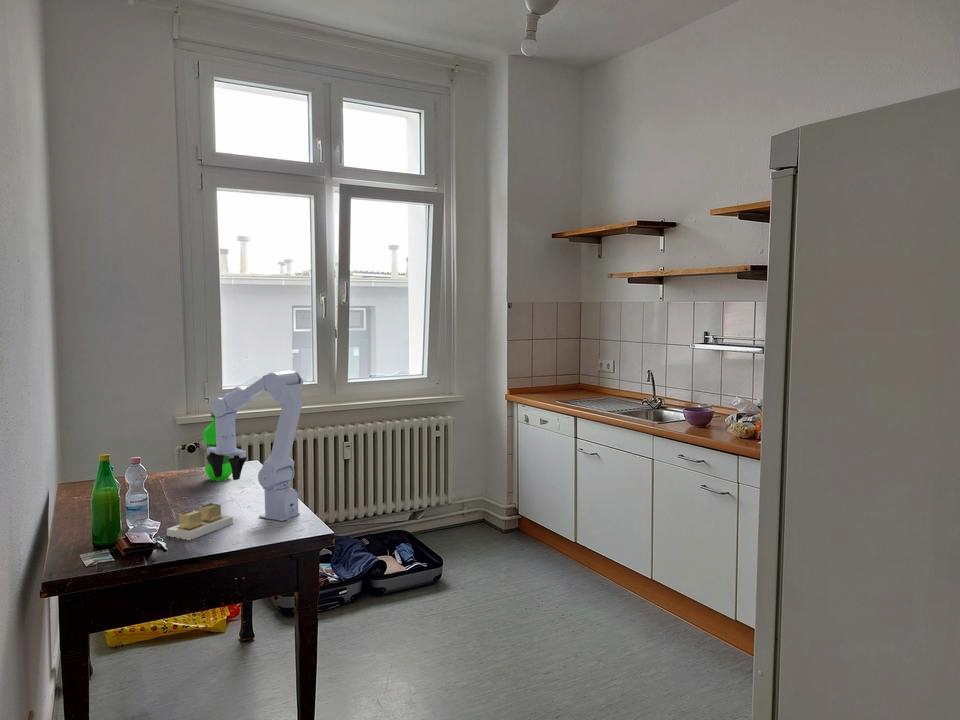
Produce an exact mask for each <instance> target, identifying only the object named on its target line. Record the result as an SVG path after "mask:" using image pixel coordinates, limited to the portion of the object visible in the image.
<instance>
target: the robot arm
mask: <svg viewBox="0 0 960 720" xmlns="http://www.w3.org/2000/svg"><path fill="white" fill-rule="evenodd" d="M303 385H304V380H303V378H302V377H301V375H300V374H299V372H298V371H297V370H294V369H290V370H285V371H278V372H275V371H274V372H269V373H267V374H265V375H262V377H260V378H259V379H258V380H256V381H255V382H253V383H252V384H250V385H248V386H235V387H233V389H234V390H233V391H230V392H227V393H225V394H223V396H222V397H215V398H214V399H213V400H212V401H211V402H210V413H211V412H212V413H213V415H214V416H215V423H216V447H209V448H207V447H206V461H207V460H208V461H209V463H210V464H211V467H212V469H213V472H214V475H215V478H218V477H221V476H222V464H223V458H224V455H226V456H231V458H230V459H229V462H230V465H231V468H232V474H231V476H232V480H233V481H237V480H240V479H241V475H242V470H243V467H244V464H245V462H246V461H247V460H248V459H247V458H248V457H247V450H245V449H244V450H243V449H240V448H237V444H236V443H237V439H236V437H237V436H236V419H237V413H238V411H239V410H240V409H242V408H243V407H245V406H247V405H249V404H250V403H251V402H252V401H253V397H256V396H257V395H259V394H261V393H264V392H267V393H268V394H269V395H270V396H271V397H272V398H273V399H274V400H275V401H276V402H277V404H280V406H281V409H280V414H279V417H278V422H277V426H276V429H275V430H276V431H275V435H274V439H273V444H272V449H271V452H270V455H269V456H268V457H267V458H266V460H265V461H264V462H263V463H262V467H261V469H260V470H259V471H258V475H257V480H258V483H259V485H260V486H261V487H262V489H263V490H264V491H263V492H264V493H263V494H264V513H262V514H260V515H258V518H263V519H268V520H274V521H281V522H284V521H287V520H289V519H292V518H294V517H296V516H298V514H299V515H300V514H301V512H300V511H299V494H298V492H297V490H296V489H294V488H292V487H291V485H292V484H291V482H292V481H293V479H294V478H295V467H294V466H295V463H296V462H295V460H293V459H292V457H291V453H292V449H293V445H294V439H295V437H296V434H297V433H296V432H297V428H298V424H299V420H300V415H301V411H302V407H303V395H302V390H303ZM207 454H210V456H207ZM293 516H294V517H293ZM286 519H287V520H286Z"/></svg>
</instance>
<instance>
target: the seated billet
mask: <svg viewBox="0 0 960 720" xmlns="http://www.w3.org/2000/svg"><path fill="white" fill-rule="evenodd" d="M178 523H179V524H178V525H179V529H183V530H188V531H190V530H193V529H196V528H198V527H201V511H199V510H194V509H188V510H185V511H182V512H180V513H178Z"/></svg>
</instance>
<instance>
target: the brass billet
mask: <svg viewBox="0 0 960 720" xmlns="http://www.w3.org/2000/svg"><path fill="white" fill-rule="evenodd" d="M198 509H199V510H198V511H201V522H205V523H212V522H215V521H217V520H220V519H221V515H222V511H221V510H222V507H221V504H219V503H218V504H217V503H214V502H209V503H206V504H202V505H201V506H199V508H198Z"/></svg>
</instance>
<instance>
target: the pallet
mask: <svg viewBox="0 0 960 720" xmlns="http://www.w3.org/2000/svg"><path fill="white" fill-rule="evenodd" d="M233 522H234V519H233V516H229V515H223V514H221V519H220V520H217V521H215V522H212V523H205V522H201V527H198V528H196V529H193V530H190V531H188V530H183V529H179V524H177V525H173V526H171V527H169V528H166V536H167V537H169V536H170V538H174V537H176V538H175V539H180V538H181V540H185V539H186V540H185V541H191V539H192V540H194V539H197V538H199V537H202V536H204V534H205V535H207V534H209V533H212V532H214V531H217V530H220V529H222V528H225V527H228V526H230V525H232V524H234V523H233Z"/></svg>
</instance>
